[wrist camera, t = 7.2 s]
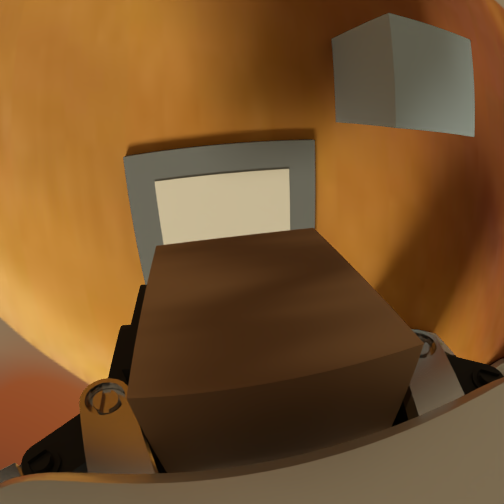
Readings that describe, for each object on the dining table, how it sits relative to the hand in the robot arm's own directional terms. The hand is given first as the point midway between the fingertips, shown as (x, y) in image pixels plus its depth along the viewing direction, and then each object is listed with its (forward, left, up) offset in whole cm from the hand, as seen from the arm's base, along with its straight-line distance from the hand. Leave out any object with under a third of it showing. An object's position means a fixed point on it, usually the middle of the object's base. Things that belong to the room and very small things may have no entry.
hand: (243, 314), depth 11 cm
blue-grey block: (-9, -8, -8) cm, 15 cm away
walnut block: (0, 0, -1) cm, 1 cm away
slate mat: (0, 0, -8) cm, 8 cm away
